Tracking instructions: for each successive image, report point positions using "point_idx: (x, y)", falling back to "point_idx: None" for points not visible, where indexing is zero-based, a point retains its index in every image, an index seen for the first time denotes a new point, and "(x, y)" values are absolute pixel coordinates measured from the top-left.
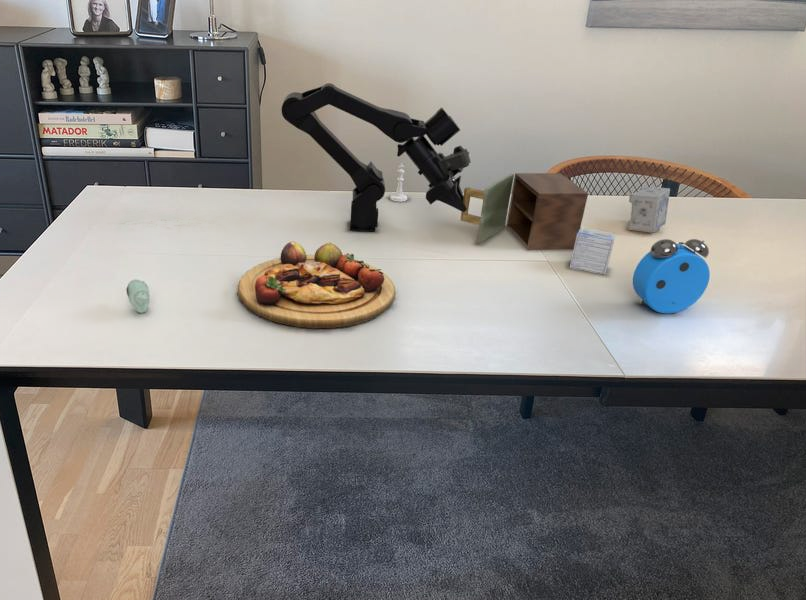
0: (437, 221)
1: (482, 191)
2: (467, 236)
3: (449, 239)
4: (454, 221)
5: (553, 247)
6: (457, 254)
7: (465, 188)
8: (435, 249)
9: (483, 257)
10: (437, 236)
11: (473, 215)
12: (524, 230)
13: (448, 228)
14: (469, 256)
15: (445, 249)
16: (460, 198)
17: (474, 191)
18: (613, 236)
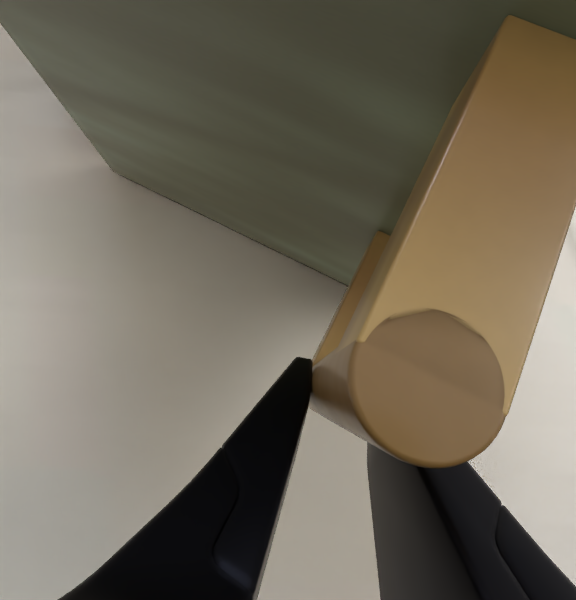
0: (62, 543)
1: (536, 101)
2: (293, 353)
3: (366, 461)
4: (55, 424)
5: None
6: (573, 418)
7: (469, 450)
8: (552, 553)
9: (557, 287)
10: (336, 541)
11: (348, 311)
12: None
13: (184, 465)
14: (573, 354)
15: (528, 488)
16: (464, 493)
17: (561, 247)
18: None
